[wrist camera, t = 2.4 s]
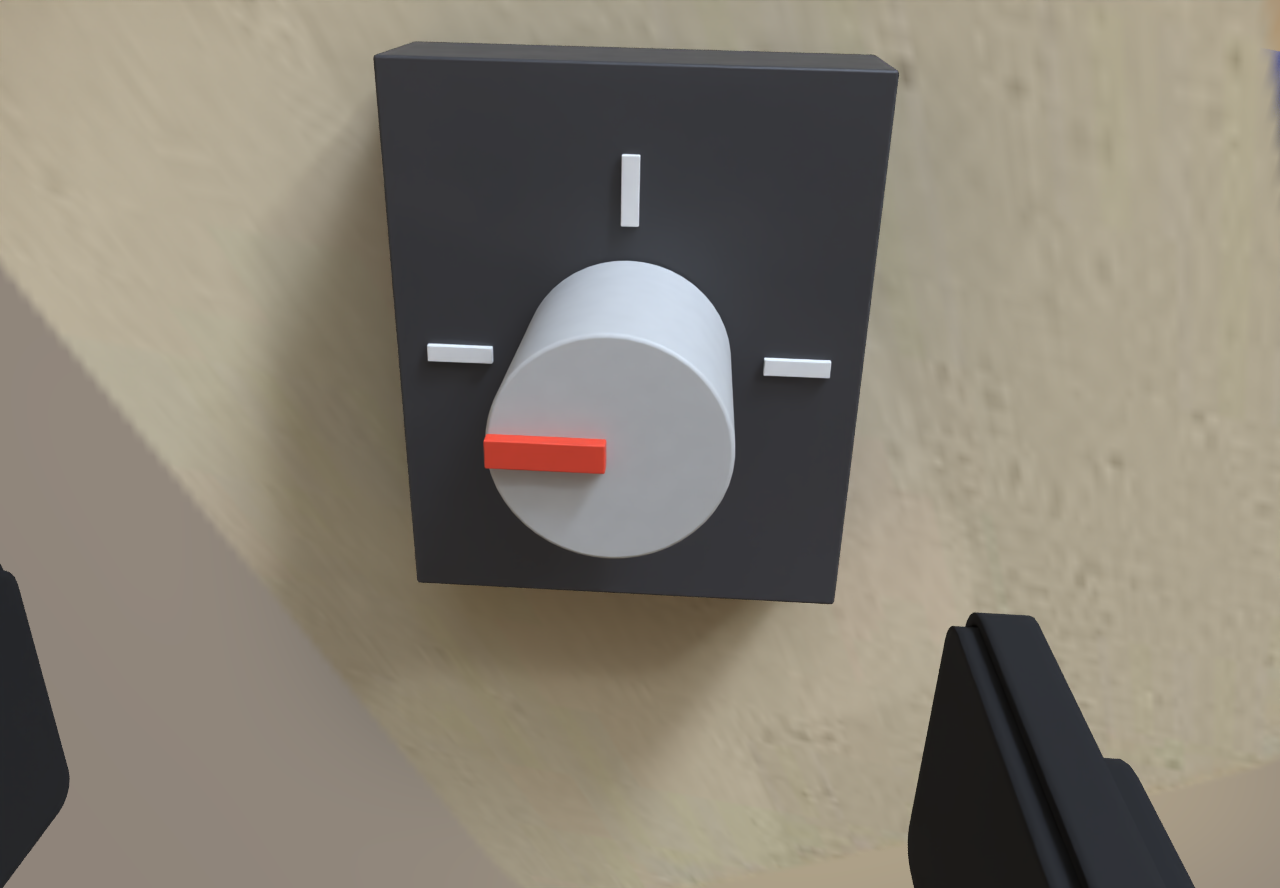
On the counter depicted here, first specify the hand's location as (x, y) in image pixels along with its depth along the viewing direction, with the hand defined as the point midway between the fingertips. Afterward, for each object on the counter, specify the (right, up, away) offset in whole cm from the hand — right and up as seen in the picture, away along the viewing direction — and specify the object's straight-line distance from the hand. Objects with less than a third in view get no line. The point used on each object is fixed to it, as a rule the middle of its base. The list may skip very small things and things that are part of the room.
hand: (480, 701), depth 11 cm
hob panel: (+2, +6, +14) cm, 16 cm away
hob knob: (+1, +4, +12) cm, 13 cm away
